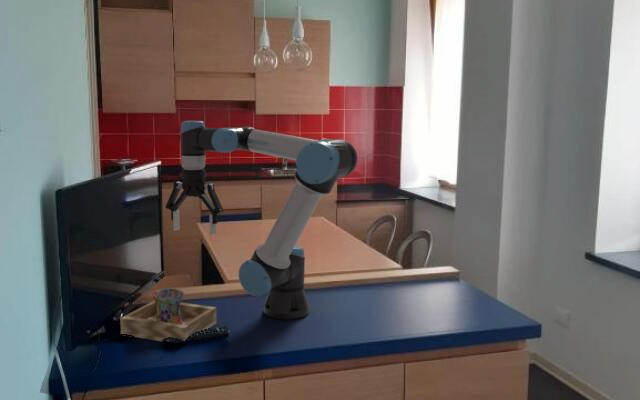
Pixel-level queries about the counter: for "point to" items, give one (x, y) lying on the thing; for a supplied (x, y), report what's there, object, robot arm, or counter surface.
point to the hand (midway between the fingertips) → (194, 231)
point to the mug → (168, 305)
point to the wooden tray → (148, 328)
